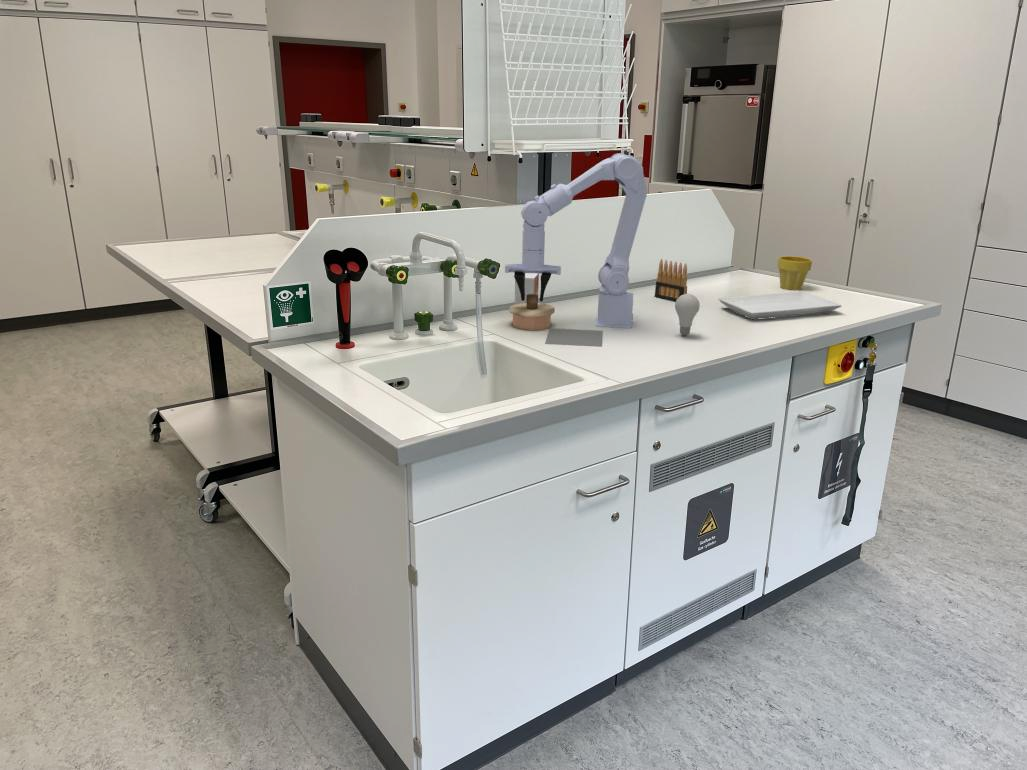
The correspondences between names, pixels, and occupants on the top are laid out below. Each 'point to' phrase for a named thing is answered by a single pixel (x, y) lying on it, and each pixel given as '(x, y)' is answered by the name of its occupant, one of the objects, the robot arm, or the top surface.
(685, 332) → the lightbulb
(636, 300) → the top surface
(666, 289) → the ammunition clip
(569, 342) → the mat
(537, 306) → the lid
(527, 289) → the small box
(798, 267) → the plant pot
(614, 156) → the robot arm
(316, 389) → the top surface
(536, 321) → the bowl
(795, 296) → the tray
